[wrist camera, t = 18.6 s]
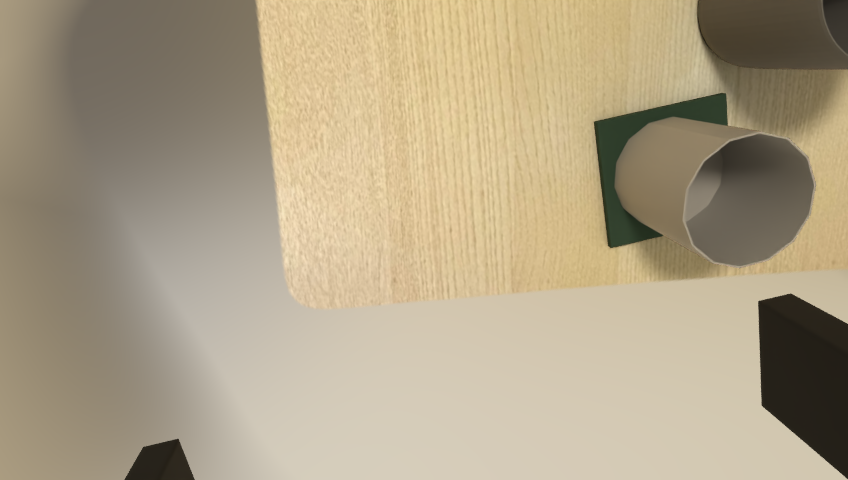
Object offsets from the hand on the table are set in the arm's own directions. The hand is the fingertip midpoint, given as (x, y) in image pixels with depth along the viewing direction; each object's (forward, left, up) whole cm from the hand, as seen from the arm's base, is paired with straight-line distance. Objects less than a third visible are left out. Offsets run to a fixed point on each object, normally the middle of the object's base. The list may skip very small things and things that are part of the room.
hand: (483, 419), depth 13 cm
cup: (+20, -4, -31) cm, 37 cm away
